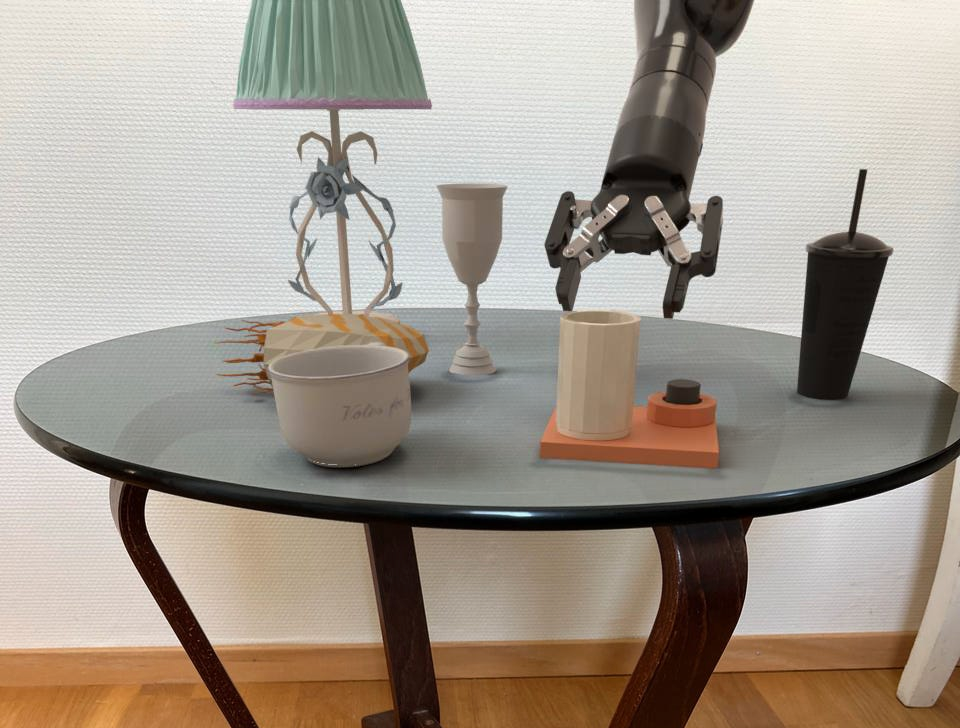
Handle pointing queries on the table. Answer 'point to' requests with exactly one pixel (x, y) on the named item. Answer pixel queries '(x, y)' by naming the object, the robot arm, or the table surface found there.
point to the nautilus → (328, 339)
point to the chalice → (472, 256)
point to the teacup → (343, 402)
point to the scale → (649, 437)
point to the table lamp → (332, 101)
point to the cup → (596, 374)
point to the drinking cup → (838, 305)
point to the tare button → (683, 392)
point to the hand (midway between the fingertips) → (615, 309)
